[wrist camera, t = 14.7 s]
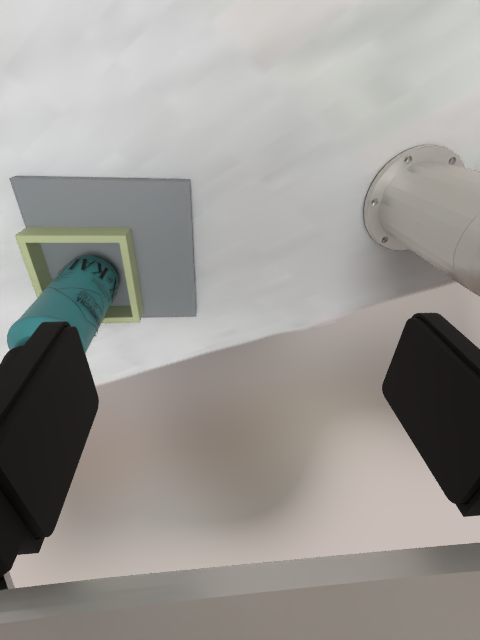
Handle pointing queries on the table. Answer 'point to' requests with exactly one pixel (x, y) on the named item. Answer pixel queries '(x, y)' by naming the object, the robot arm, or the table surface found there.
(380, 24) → the table surface
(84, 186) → the deck plate
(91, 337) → the beverage bottle
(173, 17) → the table surface
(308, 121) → the table surface
